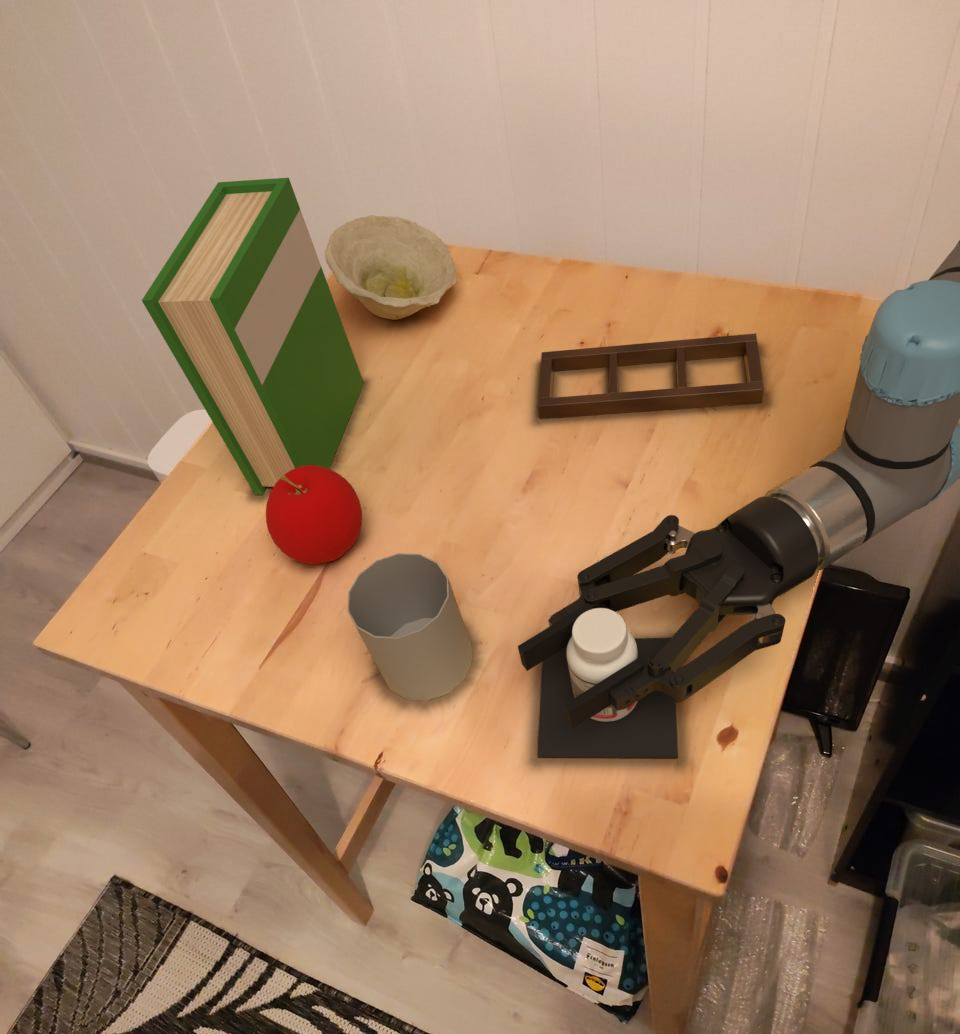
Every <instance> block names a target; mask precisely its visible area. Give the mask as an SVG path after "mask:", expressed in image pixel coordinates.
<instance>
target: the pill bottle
mask: <svg viewBox="0 0 960 1034" xmlns="http://www.w3.org/2000/svg"><path fill="white" fill-rule="evenodd" d="M635 639H636V638H635V637H634V635H633V633H631V631H630V630H629V629H628V628H627V624H626V622H625V620H624V618H623V617H622V616H621V615H620V614H619V613H617V611H616V612H615V611H612V610H610V609H606V608H595V609H591V610H588V611H586V612H584V613H583V614H581V615H580V616H579V617H578V618H577V619H576V621H575V623H574V625H573V628H572V637H571V638H570V640H569V642H568V645H567V662H568V668H569V673H570V678H571V684H572V689H573V695H574V698H576V697H577V696H579V695H580V694H582V693H583V692H585V691H587V690H588V689H590V688H591V687H593V686H594V685H596V684H598V683H599V682H601V681H602V680H604V679H606V678H607V677H609V676H610V675H612V674H613V673H615V672H617V671H618V670H620V669H621V668H623V667H625V666H626V665H628V664H629V663H631V662H632V661H634V660H636V659H637V658H638V651H637V644H636V641H635ZM636 703H637V701H636V702H635V703H633V704H632V705H630V706H629V707H627V708H626V709H623V710H618V711H617V710H616V709H615V707H614V706H613V705H610V706H608V707H607V708H605V709H604V710H602V711H601V712H599V713H597V714H596V715H594V716H593V717H591V719H594V720H597V721H602V722H609V721H615V720H618V719H621V718H623V717H625V716H626V715H627V714H629V713H630V712H631V711H632V710H633V709H634V707H635V705H636Z"/></svg>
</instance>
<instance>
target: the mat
mask: <svg viewBox="0 0 960 1034" xmlns="http://www.w3.org/2000/svg"><path fill="white" fill-rule="evenodd" d="M671 638H672V637H646V638H645V637H643V638H641V637H640V638H637V637H636V638H634V639H635V641H636V644H637V651H638V659H639V661H640V662H641V663H642V664H643V665H644V669H645V668H647V667H648V659H649V657H650V658H651V660H652V659H653V658H654V657H655V656H656V655H657V653H658V652H659V651H660V650H661V649H662V648H663V647H664V646H665V644H666V643H667V642H668V641H669V640H670V639H671ZM541 663H542V665H541V682H540V703H539V719H538V738H537V754H536V755H537V758H538V759H622V760H623V759H625V760H627V759H628V760H629V759H630V760H631V759H633V760H634V759H636V760H637V759H638V760H639V759H640V760H644V759H645V760H650V759H651V760H653V759H654V760H677V759H678V758H679V752H678V729H677V728H678V727H677V706H676V705H677V704H676V702H674V701H672V700H671V698H670V696H669V695H667V694H665V693H663V692H661V691H653V692H651V693H649V694H647V695H646V696H644V697H643V698H641V699H640V700H638V701H637V703H636V705H635V707H634V709H633V710H632V711H631V712H630V713H629V714H627V715H626V716H625V717H623V718H621V719H618V720H615V721H609V722H602V721H597V720H594V719H591V718H590V719H588V720H586V721H585V722H583V723H582V724H580V725H579V726H577V727H576V728H574V729H572V728H571V727H570V725H569V724H568V723H567V720H566V715H565V709H564V704H566V703H568V702H569V701H571V700H572V699H574V695H573V689H572V684H571V678H570V673H569V668H568V662H567V647H565V648H564V649H562V650H560V651H559V652H557V653H556V654H554V655H552V656H551V657H549V658H547V659H546V660H544V661H543V662H541Z"/></svg>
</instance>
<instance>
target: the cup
mask: <svg viewBox="0 0 960 1034" xmlns="http://www.w3.org/2000/svg"><path fill="white" fill-rule="evenodd" d="M454 593H455V592H454V591H453V587H452V585H451V582H450V579H449V577H448V576H447V573H446V572H445V570H443V567H442V566H441V565H440V563H439V562H437V561H436V560H434V559H432V558H429V557H427V556H425V555H423V554H421V553H406V552H405V553H404V552H403V553H402V552H398V553H395V554H392V555H389V556H386V557H385V556H384V557H383V558H380V559H376V560H375V561H374V562H373V563H371V564H370V565H369V566H367V567H366V568H364V570H362V571H361V572H359V574H358V575H357V576H356V578H355V579H354V582H353V584H352V585H351V586H350V589H349V590H348V591H347V607H346V610H347V614H348V616H349V617H350V619H351V621H352V623H353V625H354V627H355V629H356V631H357V632H358V634H359V635H360V638H361V639H362V641H363V643H364V645H365V647H366V649H367V650H368V653H369V654H370V655H371V658H372V660H373V662H374V663H375V665H376V667H377V669H378V671H379V673H380V675H381V676H382V679H383V680H384V681H385V683H386V685H387V687H388V689H389V690H390V691H391V692H393V693H395V694H397V695H398V696H400V697H401V698H402V699H404V700H407V701H409V700H410V701H422V702H428V701H430V700H434V699H437V698H441V697H443V696H447V695H448V694H450V693H451V692H452V691H453V690H455V688H457V687H458V686H459V685H460V684H461V683H463V682H464V681H465V679H466V676H467V674H468V672H469V670H470V668H471V666H472V664H473V653H472V651H473V650H472V642H471V640H470V636H469V633H468V631H467V627H466V625H465V622H464V620H463V616H462V613H461V611H460V607H459V605H458V602H457V599H456V596H455V594H454Z"/></svg>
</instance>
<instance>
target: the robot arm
mask: <svg viewBox="0 0 960 1034" xmlns="http://www.w3.org/2000/svg"><path fill="white" fill-rule="evenodd" d="M859 360H860V361H859V362H860V363H859V367H858V371H857V376H856V379H855V383H854V388H853V392H852V396H851V400H850V404H849V408H848V411H847V416H846V421H845V423H844V428H843V431H842V436H841V440H840V444H839V446H838V447H837V448H836V449H835V450H833V451H832V452H830V453H829V454H828V455H826V456H824V457H823V458H821V459H819V460H818V461H816V462H815V463H813V464H812V465H810V466H808V467H806V468H805V469H803V470H801V471H799V472H798V473H796V474H794V475H793V476H791V477H790V478H788V479H786V480H785V481H783V482H781V483H780V484H778V485H777V486H775V487H773V488H771V489H770V490H768V491H767V492H766V493H765V494H764V495H763V496H760V497H757V498H756V499H754V500H752V501H751V502H749V503H748V504H746V505H744V506H742V507H740V508H739V509H738V510H736V511H734V512H733V513H731V514H729V515H728V516H727V517H726V518H724V519H723V520H722V521H721V522H720V523H719V524H717V526H715V527H713V528H709V529H704V530H699V531H697V532H693V531H691V530H689V529H687V528H685V527H683V526H681V525H680V518H679V517H678V516H677V515H673V514H669V515H666V516H665V517H664V518H663V519H662V521H661V522H660V523H659V524H658V525H657V526H656V527H655V528H654V529H653V531H651V532H649V533H647V534H645V535H644V536H641V537H640V538H638V539H636V540H634V541H632V542H630V543H629V544H627V545H625V546H624V547H622V548H620V549H618V550H616V551H614V552H613V553H611V554H609V555H607V556H605V557H604V558H602V559H600V560H598V561H597V562H595V563H592V564H591V565H589V566H587V567H586V568H584V569H582V570H581V571H579V572H578V574H577V575H576V576H577V585H578V593H579V597H578V598H577V599H576V600H574V601H573V602H571V603H569V604H568V605H566V606H564V607H563V608H561V609H560V610H558V611H556V612H555V613H553V614H552V615H551V616H550V617H549V619H548V625H549V626H548V627H547V628H545V629H543V630H541V631H540V632H538V633H537V634H535V635H534V636H532V637H530V638H529V639H527V640H525V641H524V642H522V643H520V644H519V645H517V650H518V654H519V657H520V658H519V659H520V663H521V665H522V667H523V668H525V671H527V672H528V671H530V670H531V669H533V668H535V667H536V666H538V665H539V664H541V663H543V661H544V660H546V659H547V658H549V657H551V656H552V655H554V654H556V653H557V652H559V651H560V650H562V649H564V648H565V647H567V645H568V642H569V640H570V638H571V637H572V628H573V625H574V623H575V621H576V619H577V618H578V617H579V616H580V615H581V614H583V613H584V612H586V611H588V610H591V609H595V608H606V609H610V610H612V611H615V612H616V613H617V612H619V611H622V610H626V609H629V608H632V607H635V606H639V605H642V604H644V603H648V602H650V601H653V600H657V599H660V598H663V597H667V596H670V597H677V596H680V595H683V594H686V595H687V596H689V597H690V598H692V599H693V600H695V601H696V602H697V604H698V607H697V608H696V609H695V610H694V612H692V614H691V615H690V616H689V617H688V618H687V620H686V621H685V622H684V623H683V624H682V625H681V626H680V627H679V629H678V630H677V631H675V633H674V634H673V635H672V636H671V637H670V638H671V639H670V640H669V641H668V642H667V643H666V644H665V646H664V647H663V648H662V649H661V650H660V651H659V652H658V653H657V655H656V656H655V657H654V658H653V659H652V660H651V658H650V657H649V659H648V667H647V668H645V669H644V665H643V664H642V663H641V662H640V661H639V659H638V658H637V659H636V660H634V661H632V662H631V663H629V664H628V665H626V666H625V667H623V668H621V669H620V670H618V671H617V672H615V673H613V674H612V675H610V676H609V677H607V678H606V679H604V680H602V681H601V682H599V683H598V684H596V685H594V686H593V687H591V688H590V689H588V690H587V691H585V692H583V693H582V694H580V695H579V696H577V697H576V698H574V699H572V700H571V701H569V702H568V703H566V704H564V709H565V715H566V720H567V723H568V724H569V725H570V727H571V728H572V729H574V728H576V727H577V726H579V725H580V724H582V723H583V722H585V721H586V720H588V719H590V718H591V717H593V716H594V715H596V714H597V713H599V712H601V711H602V710H604V709H605V708H607V707H608V706H610V705H613V706H614V707H615V709H616V710H617V711H618V710H623V709H626V708H627V707H629V706H630V705H632V704H633V703H635V702H636V701H638V700H640V699H641V698H643V697H644V696H646V695H647V694H649V693H651V692H653V691H661V692H663V693H665V694H667V695H669V696H670V698H671V700H672V701H674V702H676V703H677V704H681V703H683V702H685V701H687V700H688V699H690V697H692V696H693V695H695V694H696V693H698V692H699V691H701V690H702V689H703V688H705V687H706V686H707V685H709V684H710V683H712V682H713V681H714V680H716V679H717V678H719V677H720V676H722V675H723V674H724V673H726V672H727V671H728V670H730V669H732V668H733V667H734V666H736V665H737V664H739V663H740V662H741V661H743V660H744V659H745V658H747V657H749V656H750V655H751V654H752V653H754V652H755V651H759V650H762V649H765V648H769V647H773V646H776V645H778V644H780V643H781V642H782V637H783V634H784V630H785V625H786V618H785V616H783V615H782V614H780V613H776V612H775V610H774V608H773V603H774V601H775V600H776V599H777V598H780V597H782V596H784V595H786V594H787V593H789V592H790V591H791V590H793V589H795V588H796V587H798V586H800V585H802V583H804V582H805V581H808V580H809V579H810V578H812V577H813V576H814V575H815V573H816V572H820V571H822V570H824V569H826V568H827V567H828V566H830V565H832V564H833V563H835V562H837V561H838V560H839V559H841V558H843V557H844V556H846V555H847V554H849V553H850V552H852V551H853V550H855V549H856V548H858V547H860V546H861V545H863V544H865V543H866V542H867V541H869V540H870V539H871V538H873V537H875V536H876V535H878V534H879V533H881V532H883V531H885V530H886V529H887V528H889V527H891V526H893V525H894V524H896V523H897V522H899V521H901V520H902V519H904V518H905V517H907V516H909V515H910V514H912V513H914V512H915V511H917V510H920V509H922V508H924V507H926V506H928V505H930V504H931V502H933V501H935V500H937V499H938V498H939V497H940V496H941V495H942V494H943V493H944V492H945V491H947V490H948V489H949V488H951V487H952V486H953V485H955V484H956V483H957V482H958V481H959V480H960V424H959V421H960V239H959V241H958V242H957V243H956V245H955V246H954V247H953V249H952V250H951V251H950V253H949V254H948V255H947V256H946V258H945V259H943V261H942V262H941V264H940V265H939V266H938V267H937V268H936V270H935V271H934V272H933V273H932V275H931V276H930V277H929V279H928V280H920V281H916V282H913V283H911V284H910V285H909V286H908V287H906V288H905V289H897V290H895V291H894V292H892V293H890V294H889V295H888V296H886V298H884V299H883V301H882V302H881V303H880V305H879V306H878V308H877V310H876V311H875V314H874V317H873V320H872V322H871V325H870V328H869V330H868V333H867V334H866V335H865V338H864V341H863V342H862V345H861V353H860V355H859ZM680 549H686V550H685V553H684V554H682V555H679V556H676V557H673V558H670V559H668V560H667V561H666V562H665V563H664V564H662V565H659V566H657V567H654V568H651V569H647V570H644V569H646V568H648V567H650V566H652V565H654V564H655V563H657V562H658V561H659V562H660V560H662V559H663V558H664V557H666V555H668V554H669V555H674V554H676V553H677V551H679V550H680ZM643 570H644V571H643ZM742 615H743V616H744V615H746V616H747V615H752V616H751V617H750V618H749V621H748V622H746V623H744V624H743V625H741V626H739V628H737V629H736V630H734V631H733V632H731V633H730V634H728V635H727V636H726V637H724V638H723V639H721V640H720V641H718V642H717V643H715V644H714V645H713V646H711V647H710V648H709V649H707V650H706V651H704V652H703V653H701V654H699V656H697V657H696V658H694V659H692V660H691V661H690V662H688V663H687V664H685V662H686V661H687V660H688V658H690V657H691V655H693V653H694V652H695V651H696V650H697V648H698V647H700V645H701V644H702V643H703V641H705V640H706V638H707V637H708V636H709V635H710V634H711V633H714V632H715V631H716V630H717V629H718V627H720V625H721V624H722V623H723V622H724V621H725V619H727V617H728V616H742ZM684 664H685V665H684ZM683 665H684V666H683ZM682 666H683V667H682Z"/></svg>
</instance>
